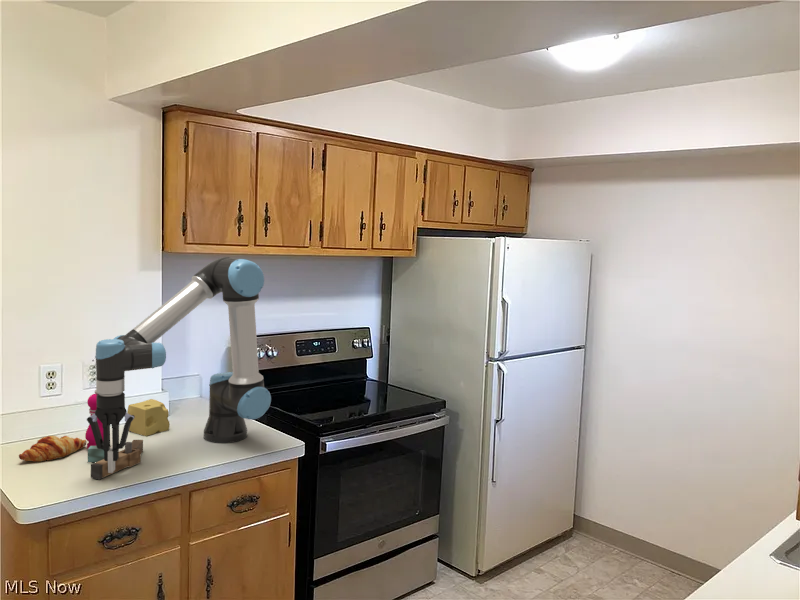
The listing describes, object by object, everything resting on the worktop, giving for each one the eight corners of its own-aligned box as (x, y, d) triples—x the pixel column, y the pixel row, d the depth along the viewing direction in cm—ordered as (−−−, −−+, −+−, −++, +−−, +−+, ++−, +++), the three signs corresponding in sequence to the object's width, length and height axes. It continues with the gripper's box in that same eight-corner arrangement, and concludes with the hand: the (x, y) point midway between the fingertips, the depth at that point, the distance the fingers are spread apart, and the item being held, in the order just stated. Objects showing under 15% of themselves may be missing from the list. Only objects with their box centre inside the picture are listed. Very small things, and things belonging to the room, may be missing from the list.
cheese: (169, 430, 235) (170, 403, 234) (144, 437, 226) (144, 409, 225) (151, 424, 241) (151, 398, 239) (125, 431, 232) (125, 404, 230)
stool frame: (143, 451, 212) (143, 430, 211) (132, 466, 199) (132, 444, 199) (97, 451, 210) (98, 430, 209) (84, 466, 197) (84, 444, 197)
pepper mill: (99, 453, 209) (99, 392, 207) (80, 450, 210) (80, 390, 208) (114, 446, 216) (114, 387, 214) (95, 443, 217) (95, 385, 215)
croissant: (80, 455, 216) (74, 432, 217) (96, 447, 210) (90, 424, 212) (15, 472, 198) (8, 447, 199) (31, 464, 192) (24, 438, 194)
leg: (129, 460, 204) (129, 447, 203) (140, 462, 202) (140, 449, 202) (88, 477, 189) (88, 463, 188) (101, 480, 187) (101, 466, 187)
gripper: (137, 389, 192) (137, 466, 195) (91, 389, 190) (92, 466, 193) (130, 396, 185) (131, 475, 187) (82, 396, 183) (84, 476, 185)
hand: (111, 471), depth 190 cm, fingers closed
